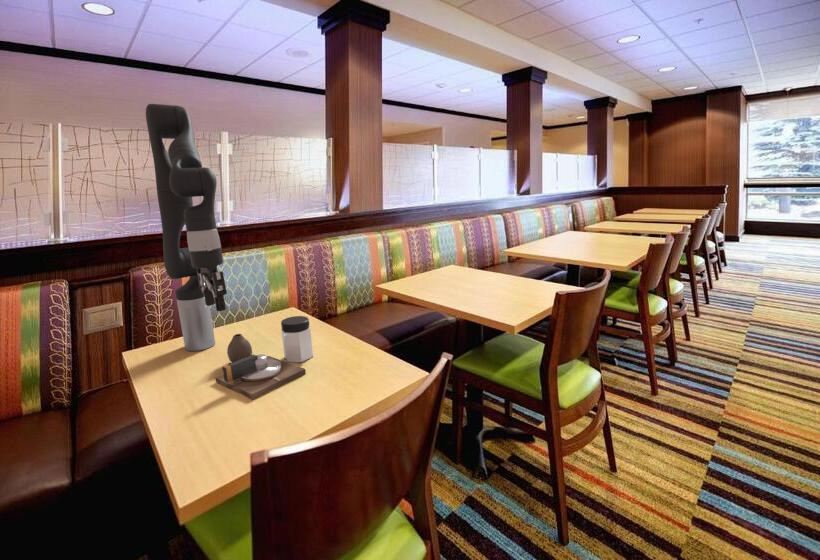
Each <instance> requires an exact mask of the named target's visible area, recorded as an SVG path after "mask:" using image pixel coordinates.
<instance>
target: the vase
mask: <svg viewBox="0 0 820 560" xmlns="http://www.w3.org/2000/svg"><path fill="white" fill-rule="evenodd" d="M252 348H253V347H252V345H251V343H250V341H249V340H248V339H246V337H244V335H243V334H241V333H236V334H234V335H233V336H232V339H231V341H230V342H229V344H228V345H227V351H226V353H227V358H228V359H229V361H230V363H233V362H236V361H238V360H241V359H243V358H246V357H248V356H251V355H253V349H252Z"/></svg>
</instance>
